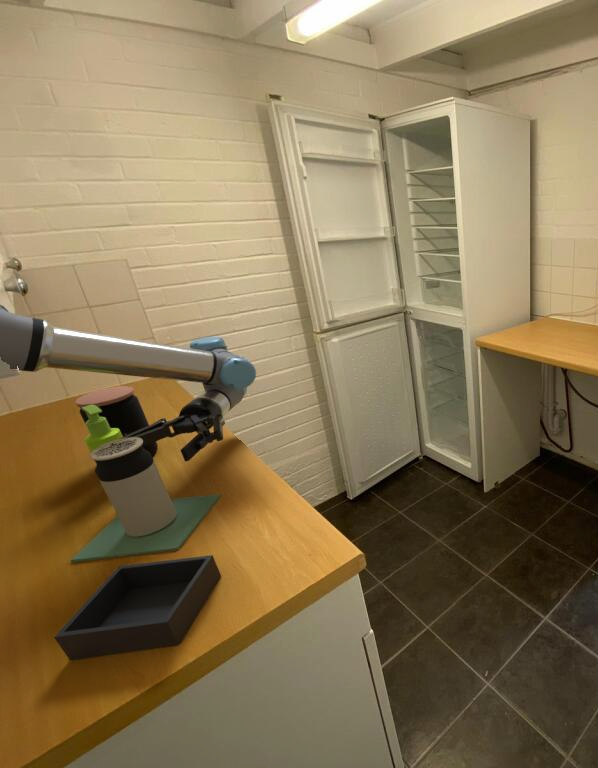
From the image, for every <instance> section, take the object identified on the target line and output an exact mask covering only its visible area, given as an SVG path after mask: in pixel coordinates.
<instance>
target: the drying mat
mask: <svg viewBox="0 0 598 768" xmlns="http://www.w3.org/2000/svg"><path fill="white" fill-rule="evenodd" d="M221 496H222V495H221V493H215V494H206V495H197V496H196V495H195V496H186V497H177V498H170V499H171V501H172V503H173V505H174V508H175V510H176V512H177V515H176V517H175V519H174V520H173V521H172V522H171V523H170V524H168V525H167V526H165V527H164V528H162V529H160V530H159V531H156V532H154V533H151V534H148V535H144V536H137V537H133V536H129V535H128V534H127V533H126V531H125V529H124V527H123V525H122V523H121V521H120V519H119V517H118V515H117V516H116V517H115V518H113V520H112V521H110V522H109V523H108V524H107V525H106V526H105V527H104V528H103V529H101V531H100V532H99V533H97V535H96V536H94V537H93V538H92V539H91V540H90V541H89V542H88V543H87V544H86V545H85V546H83V548H81V549H80V550H79V551H78V553H76V554H75V555H74V556H73V557H72V558H71V559H70V563H81V562H88V561H96V560H105V559H113V558H122V557H123V558H124V557H132V556H140V555H141V556H142V555H148V554H157V553H167V552H174V551H179V550H180V549H181V547H182V546H183V545H184V544H185V543H186V541H187V540H188V538H189V537H190V536H191V535H192V533H194V531H195V530H196V529H197V527H198V526H199V525H200V523H201V522H202V521H203V520H204V518H205V517H206V516H207V514H208V513H209V512H210V510H211V509H213V507H214V506H215V504H216V503H217V502H218V500H219V499H220V498H221Z"/></svg>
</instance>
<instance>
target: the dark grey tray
mask: <svg viewBox="0 0 598 768" xmlns="http://www.w3.org/2000/svg"><path fill="white" fill-rule="evenodd" d="M221 578H222V574H221V572H220V569H219V567H218V564H217V563H216V560H215V557H214V555H213V554H210V555H203V556H201V555H200V556H195V557H194V556H193V557H185V558H176V559H169V560H160V561H152V562H144V563H143V562H142V563H133V564H127V565H126V564H125V565H119V566H117V568H115V570H114V571H112V573H111V574H110V575H109V577H107V579H106V580H105V581H104V582H103V583H102V584H101V585H100V586H99V587H98V589H97V590H96V591H95V592H94V593H93V594H92V595H91V596H90V597H89V598H88V599H87V601H86V602H85V603H84V604H82V606H81V607H80V608H79V609H78V610H77V611H76V612H75V613H74V615H73V616H71V618H70V619H69V620H68V621H67V622H66V623H65V624H64V626H63V627H61V629H60V630H59V631H58V632H57V633H56V634H55V635H54V636H53V638H54V640H55V641H56V642H57V644H58V645H59V647H60V648H61V650H62V652H63V653H64V654H65V656H66V657H67V658H68V660H69V661H76V660H84V659H89V658H90V659H91V658H98V657H103V656H104V657H105V656H112V655H118V654H125V653H131V652H141V651H146V650H153V649H161V648H167V647H176V646H180V644H182V641H183V640H184V638H185V636H186V635H187V633H188V632H189V630H190V628H191V627H192V625H193V624H194V622H195V620H196V619H197V617H198V615H199V614H200V613H201V611H202V609H203V607H204V605H205V604H206V602H207V601H208V599H209V597H210V596H211V594H212V592H213V591H214V590H215V587H216V586H217V584H218V583H219V581H220V579H221Z"/></svg>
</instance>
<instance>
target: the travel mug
mask: <svg viewBox="0 0 598 768" xmlns="http://www.w3.org/2000/svg"><path fill="white" fill-rule="evenodd" d="M142 444H143V440H142V439H141V438H138V437H128V438H122V439H118V440H115V441H111V442H109V443H106V444H104V445H101V446H99V447H98V448H96V449H95V450H93V451H92V452H90V453H89V459H90V460H92V461H94V462H95V464H96V463H97V464H96V465H95V470H94V472H95V474H96V477H97V478H98V481H99V483H100V484H101V486H102V489H103V490H104V492H105V494H106V496H107V498H108V500H109V502H110V504H111V505H112V508H113V509H114V511H115V513H116V515H117V516H118V517H119V519H120V521H121V523H122V525H123V527H124V529H125V531H126V533H127V534H128V535H129V536H133V537H137V536H144V535H148V534H151V533H154V532H156V531H159V530H160V529H162V528H164V527H165V526H167V525H168V524H170V523H171V522H172V521H173V520H174V519H175V517H176V515H177V512H176V510H175V508H174V505H173V503H172V501H171V499H172V498H171V496H170V494H169V492H168V490H167V488H166V485H165V484H164V480H163V479H162V476H161V473H160V472H159V469H158V467H157V465H156V462H155V460H154V458H153V456H151V453H150V452H148V451H147V450H145V449H143V446H142Z"/></svg>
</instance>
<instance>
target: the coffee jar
mask: <svg viewBox="0 0 598 768" xmlns="http://www.w3.org/2000/svg"><path fill="white" fill-rule="evenodd" d="M74 403H75V405H76V406H77V407H78V408H80V409H79V414H80V416H81V418H82V420H83V422H84V424H85V423H86V422H87V421H88V420H89V418H88V416H87V414H86V412H85V411H83V410H82V407H85V406H89V405H92V404H93V405H95V406H97V407H98V408H99V409H101V410H102V412H101V413H98V415H99V417H105V418H106V419H107V422H108V424H109V426H110V428H118V429H119V430H120V432H121V434H122V436H123V437H124V436H126V435H128V434H130V433H133V432H135V431H137V430H140V429H142V428H144V427H146V426H149V425H150V424H149V421H148V420H147V417H146V414H145V412H144V409H143V407H142V405H141V403H140V400H139V398H138V396H136V395H135V389H134V388H133V387H132V386H128V385H120V386H119V385H117V386H112V387H107V388H103V389H98V390H94V391H91V392H88V393H86V394H83V395H82V396H81V395H80V397H78V398H77V399H75V401H74ZM158 446H159V445H158V441H155V442H153V443H150V444H148V445H145V446H143V449H145V450H147V451H148V452H150V453H151V456H152V457H153V456H155V455H156V454H157V451H158Z"/></svg>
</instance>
